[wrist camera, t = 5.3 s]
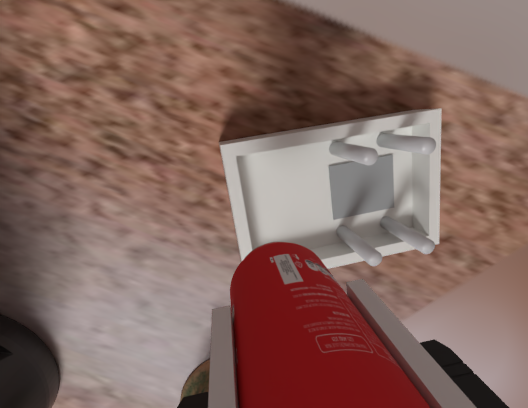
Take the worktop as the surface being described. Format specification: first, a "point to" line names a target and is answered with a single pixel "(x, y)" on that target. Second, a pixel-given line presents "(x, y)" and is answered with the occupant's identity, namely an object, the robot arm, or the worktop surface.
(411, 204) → the tray
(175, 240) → the worktop surface
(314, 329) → the beverage can
